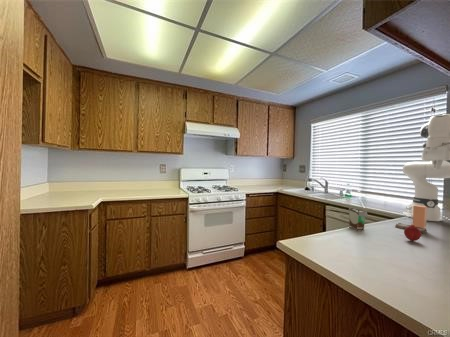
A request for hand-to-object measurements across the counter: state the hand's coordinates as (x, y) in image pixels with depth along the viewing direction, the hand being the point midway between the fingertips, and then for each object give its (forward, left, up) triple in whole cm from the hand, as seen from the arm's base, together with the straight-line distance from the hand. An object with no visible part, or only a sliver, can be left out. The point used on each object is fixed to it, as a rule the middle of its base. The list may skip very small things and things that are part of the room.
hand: (436, 168), depth 113 cm
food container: (+18, -40, -34) cm, 56 cm away
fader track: (+7, -13, -34) cm, 37 cm away
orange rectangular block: (+9, -10, -33) cm, 35 cm away
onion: (+30, -22, -34) cm, 51 cm away
